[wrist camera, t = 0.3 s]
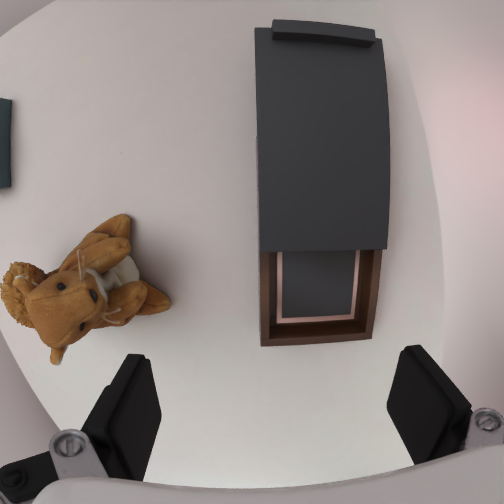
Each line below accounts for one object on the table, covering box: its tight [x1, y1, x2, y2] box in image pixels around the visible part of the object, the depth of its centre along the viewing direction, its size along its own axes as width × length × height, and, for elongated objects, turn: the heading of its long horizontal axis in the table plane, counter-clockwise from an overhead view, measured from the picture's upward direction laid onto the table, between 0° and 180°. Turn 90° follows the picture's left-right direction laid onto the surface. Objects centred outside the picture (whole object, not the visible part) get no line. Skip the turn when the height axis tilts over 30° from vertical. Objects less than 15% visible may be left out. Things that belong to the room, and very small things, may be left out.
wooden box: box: [256, 137, 382, 347], centre depth 27 cm, size 18×11×3 cm, turn 1°
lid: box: [254, 19, 390, 252], centre depth 22 cm, size 18×11×2 cm, turn 1°
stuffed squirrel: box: [0, 214, 170, 366], centre depth 23 cm, size 10×14×13 cm
